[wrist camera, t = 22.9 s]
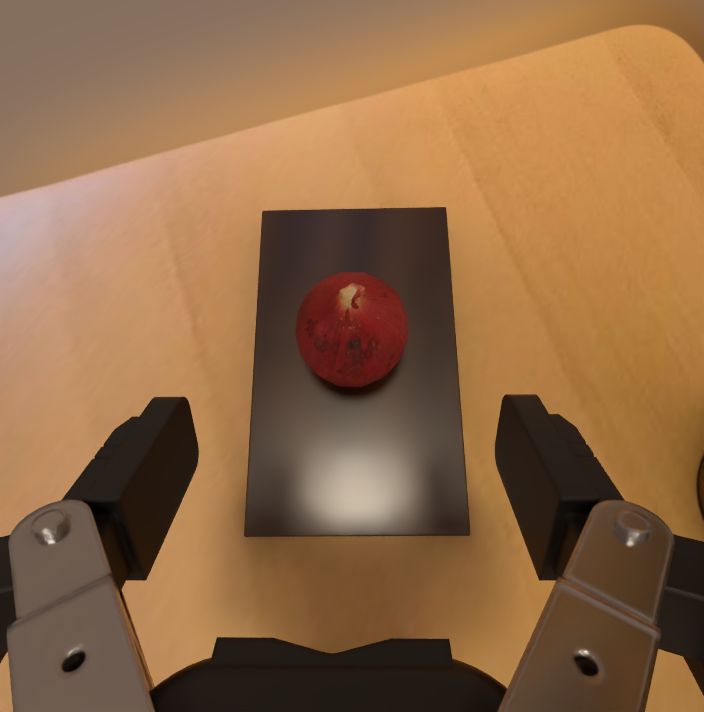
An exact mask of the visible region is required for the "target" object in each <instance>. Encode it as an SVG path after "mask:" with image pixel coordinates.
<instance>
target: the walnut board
mask: <svg viewBox="0 0 704 712" xmlns="http://www.w3.org/2000/svg"><path fill="white" fill-rule="evenodd" d="M342 272H363V273H366V274H368V275H371V276H374V277H377V278H380V279H381V280H383V281H384V282H385V283H386V284H387V285H389V286H390V287H391V288H392V289H394V290H395V291H396V292H397V293H398V294H399V296H400V299H401V301H402V304H403V306H404V309H405V311H406V313H407V324H408V340H407V343H406V345H405V348H404V351H403V353H402V356H401V359H400V361H399V362H398V363H397V364H396V365H395V366H394V367H393V368H392V369H391V370H390V371H389V372H388V374H387V375H386V376H385V377H383V378H382V379H379V380H377V381H374V382H372V383H370V384H367V385H365V386H363V387H345V386H337V385H335V384H333V383H331V382H329V381H327V380H325V379H324V378H322V377H320V376H318V375H317V374H316V373H315V372H314V371H313V370H312V369H311V368H310V366H309V365H308V364H307V363H306V362H305V360H304V359H303V358H302V357H301V354H300V350H299V347H298V343H297V340H296V318H297V312H298V310H299V308H300V306H301V304H302V302H303V300H304V298H305V296H306V294H307V292H308V291H310V290H311V289H312V288H313V287H314V286H316V285H317V284H318V283H319V282H320V281H322V280H323V279H325V278H328V277H330V276H333V275H336V274H339V273H342ZM469 535H470V522H469V509H468V495H467V482H466V469H465V455H464V442H463V428H462V415H461V401H460V388H459V375H458V361H457V348H456V334H455V321H454V307H453V294H452V281H451V267H450V254H449V240H448V227H447V214H446V207H432V208H381V209H329V210H278V211H263V212H262V226H261V244H260V262H259V280H258V298H257V315H256V333H255V351H254V369H253V387H252V404H251V422H250V440H249V458H248V476H247V493H246V511H245V529H244V536H245V537H305V536H469Z"/></svg>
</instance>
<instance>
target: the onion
mask: <svg viewBox="0 0 704 712" xmlns="http://www.w3.org/2000/svg"><path fill="white" fill-rule="evenodd" d="M296 340H297V343H298V347H299V350H300V354H301V357H302V358H303V359H304V360H305V362H306V363H307V364H308V365H309V366H310V368H311V369H312V370H313V371H314V372H315V373H316V374H317V375H318V376H320V377H322V378H324V379H325V380H327V381H329V382H331V383H333V384H335V385H337V386H345V387H363V386H365V385H367V384H370V383H372V382H374V381H377V380H379V379H382V378H383V377H385V376H386V375H387V374H388V372H389V371H390V370H391V369H392V368H393V367H394V366H395V365H396V364H397V363H398V362H399V361H400V359H401V356H402V353H403V351H404V348H405V345H406V343H407V340H408V324H407V313H406V311H405V309H404V306H403V304H402V301H401V299H400V296H399V294H398V293H397V292H396V291H395V290H394V289H392V288H391V287H390V286H389V285H387V284H386V283H385V282H384V281H383V280H381V279H380V278H377V277H374V276H371V275H368V274H366V273H363V272H342V273H339V274H336V275H333V276H330V277H328V278H325V279H323V280H322V281H320V282H319V283H318V284H317V285H316V286H314V287H313V288H312V289H311V290H310V291H308V292H307V294H306V296H305V298H304V300H303V302H302V304H301V306H300V308H299V310H298V312H297V318H296Z"/></svg>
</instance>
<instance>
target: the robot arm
mask: <svg viewBox="0 0 704 712" xmlns="http://www.w3.org/2000/svg"><path fill="white" fill-rule="evenodd" d="M198 456H199V449H198V442H197V437H196V433H195V428H194V423H193V419H192V414H191V409H190V405H189V402H188V400H187V398H185V397H154V398H153V399H152V400H151V401H150V403H149V404H148V406H147V407H146V408H145V410H144V411H143V413H142V414H141V415H140V417H131V418H130V419H129V420H127V421H126V422H124V423H123V424H122V425H120V426H119V427H117V428H116V429H115V430H114V431H113V432H112V434H111V435H110V436H109V438H108V439H107V440H106V442H105V443H104V447H101V448H100V450H99V451H98V452H97V454H96V455H95V459H92V460H91V462H90V463H89V464H88V466H87V467H86V468H85V470H84V471H83V472H82V474H81V475H80V476H79V478H78V479H77V480H76V482H75V483H74V484H73V486H72V487H71V488H70V490H69V491H68V492H67V494H66V495H65V496H64V498H63V499H62V500H61V501H58V502H54V503H51V504H48V505H45V506H43V507H41V508H39V509H37V510H35V511H34V512H32V513H31V514H29V515H28V516H26V517H25V518H24V519H23V520H21V522H20V523H19V524H18V525H17V526H16V527H15V528H14V530H13V531H12V533H11V535H8V536H5V537H0V663H1V661H2V659H3V658H4V656H5V654H6V653H7V651H8V656H9V668H10V679H11V691H12V702H13V712H645V708H646V704H647V699H648V694H649V689H650V685H651V680H652V675H653V670H654V666H655V661H656V656H657V652H658V649H661V650H664V651H667V652H671V653H674V654H677V655H680V656H683V657H684V659H685V661H686V663H687V665H688V667H689V668H690V670H691V672H692V674H693V676H694V678H695V680H696V682H697V684H698V686H699V688H700V689H701V691H702V693H703V695H704V542H702V541H698V540H694V539H690V538H685V537H681V536H677V535H674V534H672V532H671V530H670V529H669V527H668V526H667V525H666V524H665V523H664V521H663V520H661V519H660V518H659V517H658V516H657V515H655V514H654V513H652V512H651V511H649V510H647V509H646V508H643V507H641V506H639V505H636V504H634V503H631V502H627V501H625V500H624V499H623V497H622V496H621V494H620V493H619V491H618V490H617V488H616V487H615V485H614V484H613V482H612V481H611V479H610V478H609V476H608V475H607V473H606V472H605V470H604V469H603V467H602V466H601V464H600V463H599V461H598V460H597V458H596V457H594V454H593V452H592V451H591V449H590V448H589V446H588V445H586V442H585V440H584V439H583V437H582V436H581V434H580V433H579V431H578V430H577V428H576V427H575V426H574V425H572V424H571V423H570V422H568V421H567V420H566V419H564V418H563V417H562V416H560V415H559V414H549V413H548V412H547V410H546V408H545V407H544V405H543V404H542V402H541V400H540V399H539V397H538V396H537V395H505V396H504V397H503V400H502V404H501V410H500V417H499V423H498V429H497V435H496V441H495V459H496V465H497V469H498V471H499V474H500V477H501V479H502V482H503V485H504V487H505V490H506V493H507V495H508V498H509V501H510V503H511V506H512V509H513V511H514V514H515V517H516V519H517V522H518V525H519V527H520V530H521V533H522V535H523V538H524V541H525V544H526V546H527V549H528V552H529V554H530V557H531V560H532V562H533V565H534V568H535V570H536V573H537V576H538V578H539V580H557V581H556V583H555V585H554V587H553V589H552V592H551V594H550V596H549V598H548V600H547V603H546V605H545V607H544V609H543V612H542V614H541V616H540V618H539V620H538V623H537V625H536V627H535V629H534V631H533V634H532V636H531V638H530V640H529V643H528V645H527V647H526V649H525V651H524V654H523V656H522V658H521V660H520V663H519V665H518V667H517V669H516V671H515V674H514V676H513V678H512V680H511V682H510V685H509V687H508V689H507V688H506V687H505V686H504V685H503V684H501V683H500V682H498V681H497V680H495V679H494V678H493V677H491V676H490V675H488V674H486V673H484V672H483V671H481V670H479V669H477V668H475V667H473V666H471V665H468V664H466V663H464V662H461V661H458V660H454V659H452V654H451V648H450V642H449V639H388V640H384V641H381V642H377V643H373V644H369V645H365V646H362V647H358V648H354V649H350V650H347V651H343V652H339V653H334V654H331V653H325V652H321V651H318V650H314V649H311V648H307V647H304V646H300V645H297V644H293V643H290V642H286V641H283V640H279V639H276V638H227V637H217V639H216V643H215V647H214V650H213V654H212V658H209V659H205V660H202V661H200V662H197V663H194V664H192V665H189V666H188V667H186V668H184V669H182V670H180V671H178V672H176V673H174V674H173V675H171V676H170V677H168V678H167V679H165V680H164V681H162V682H161V683H160V684H158V685H157V686H156V687H155V686H154V683H153V680H152V677H151V674H150V672H149V669H148V666H147V663H146V660H145V657H144V654H143V651H142V648H141V645H140V642H139V639H138V636H137V633H136V630H135V627H134V624H133V621H132V618H131V615H130V612H129V609H128V606H127V603H126V600H125V598H124V595H123V592H122V590H121V589H122V587H123V585H124V583H125V581H126V580H146V579H147V577H148V575H149V573H150V571H151V568H152V566H153V564H154V562H155V559H156V557H157V555H158V553H159V551H160V548H161V546H162V544H163V542H164V539H165V537H166V535H167V533H168V530H169V528H170V526H171V524H172V522H173V519H174V517H175V515H176V513H177V510H178V508H179V506H180V504H181V501H182V499H183V497H184V495H185V493H186V490H187V488H188V486H189V484H190V481H191V479H192V477H193V475H194V473H195V470H196V467H197V463H198ZM699 490H700V499H701V505H702V509H703V513H704V461H703V463H702V467H701V472H700V480H699Z"/></svg>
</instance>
